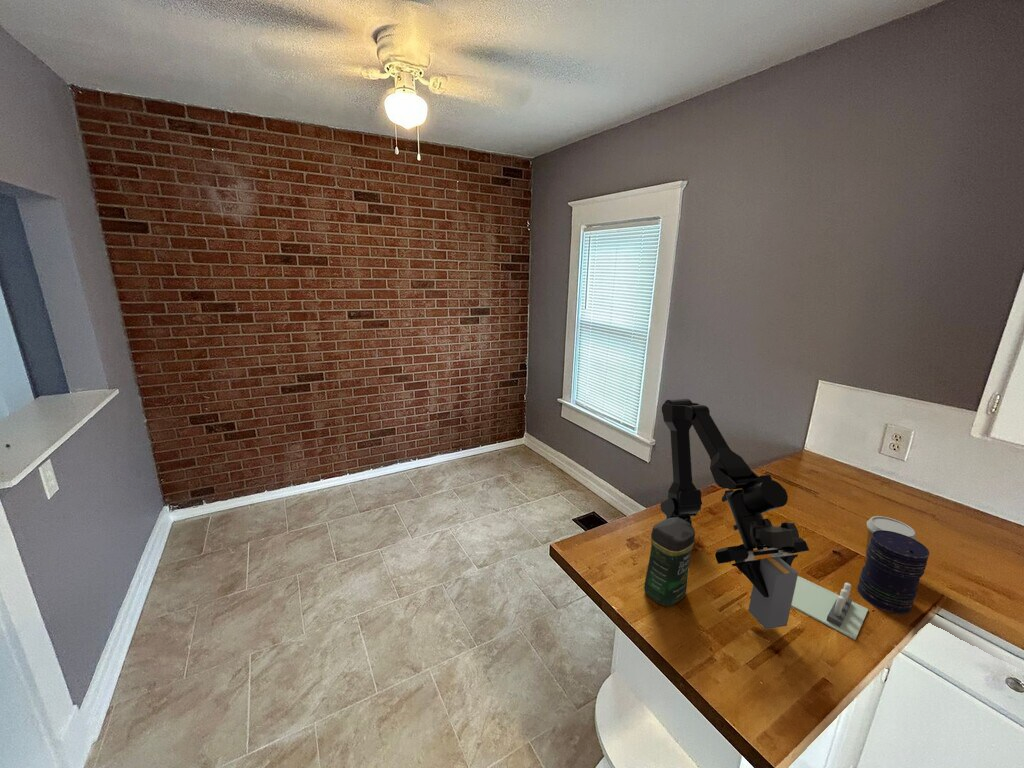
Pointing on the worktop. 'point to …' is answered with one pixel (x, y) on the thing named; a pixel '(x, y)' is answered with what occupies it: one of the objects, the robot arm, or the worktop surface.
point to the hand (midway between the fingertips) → (777, 595)
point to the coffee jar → (669, 560)
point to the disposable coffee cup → (887, 528)
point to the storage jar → (892, 571)
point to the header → (829, 607)
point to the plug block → (774, 593)
